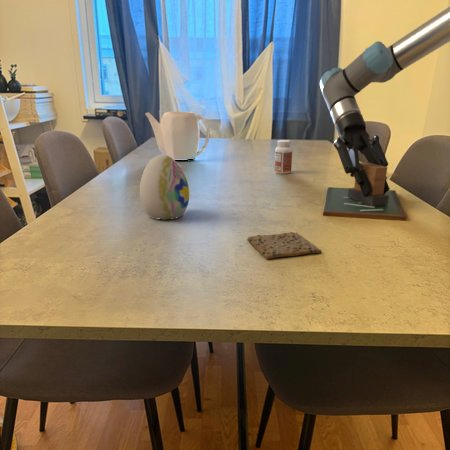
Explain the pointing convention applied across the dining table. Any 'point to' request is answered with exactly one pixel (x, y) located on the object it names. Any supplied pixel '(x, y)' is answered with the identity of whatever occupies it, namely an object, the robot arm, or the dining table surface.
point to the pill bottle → (283, 157)
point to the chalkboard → (361, 206)
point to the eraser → (371, 185)
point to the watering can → (179, 134)
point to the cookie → (282, 245)
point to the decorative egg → (164, 188)
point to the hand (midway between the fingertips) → (376, 192)
